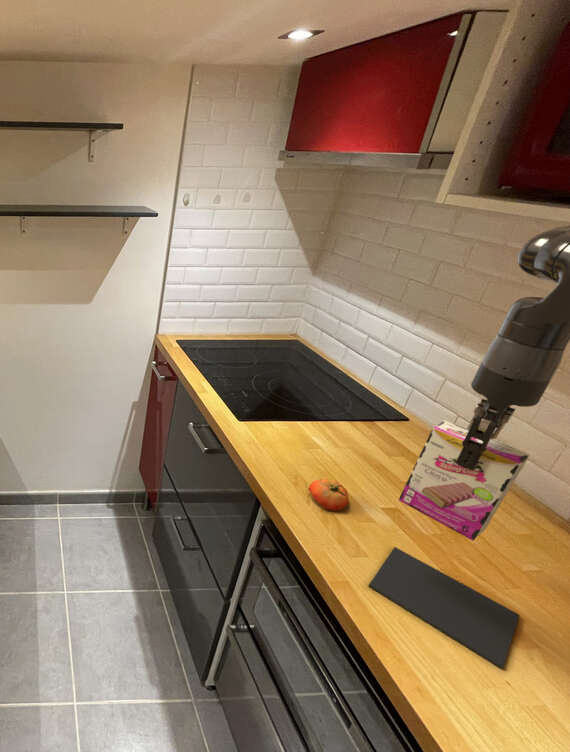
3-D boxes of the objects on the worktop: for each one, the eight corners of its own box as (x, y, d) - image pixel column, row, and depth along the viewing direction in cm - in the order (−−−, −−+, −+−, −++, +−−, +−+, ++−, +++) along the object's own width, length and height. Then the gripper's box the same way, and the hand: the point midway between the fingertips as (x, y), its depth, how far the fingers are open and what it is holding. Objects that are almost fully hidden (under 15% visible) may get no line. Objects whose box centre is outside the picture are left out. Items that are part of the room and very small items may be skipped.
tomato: (310, 503, 98) (319, 472, 100) (299, 502, 105) (307, 473, 106) (350, 518, 96) (358, 486, 98) (336, 517, 103) (344, 486, 104)
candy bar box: (396, 501, 82) (430, 426, 75) (408, 491, 84) (443, 418, 77) (474, 543, 73) (521, 463, 66) (485, 531, 75) (531, 453, 69)
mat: (517, 616, 76) (519, 614, 76) (501, 669, 69) (503, 667, 68) (393, 548, 89) (394, 546, 89) (368, 586, 81) (369, 584, 81)
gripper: (493, 348, 73) (452, 434, 80) (471, 371, 65) (427, 464, 72) (559, 364, 68) (509, 455, 75) (544, 392, 60) (489, 490, 67)
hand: (469, 459), depth 73 cm, fingers closed on candy bar box, 5 cm apart
